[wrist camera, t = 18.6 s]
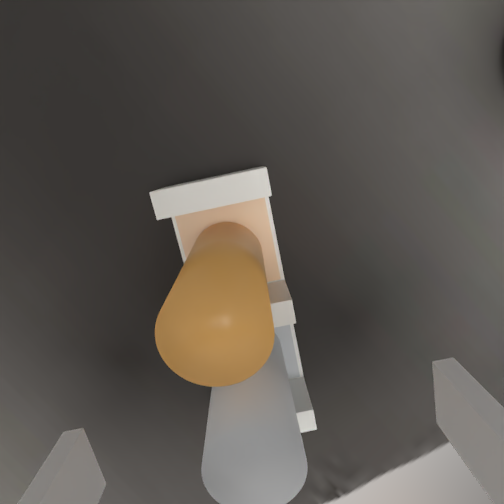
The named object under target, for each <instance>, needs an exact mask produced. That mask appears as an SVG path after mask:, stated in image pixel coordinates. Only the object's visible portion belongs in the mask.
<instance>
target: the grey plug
mask: <svg viewBox="0 0 504 504" xmlns="http://www.w3.org/2000/svg"><path fill="white" fill-rule="evenodd" d="M274 333H275V332H274ZM307 470H308V468H307V459H306V455H305V450H304V446H303V441H302V437H301V432H300V428H299V423H298V419H297V414H296V410H295V405H294V401H293V396H292V392H291V388H290V383H289V379H288V374H287V370H286V365H285V361H284V356H283V352H282V347H281V343H280V340H279V338H278V336H277V334H276V333H275V337H274V345H273V349H272V351H271V354H270V356H269V358H268V360H267V361H266V363H265V364H264V365H263V367H262V368H261V369H260V370H259V371H258V372H256V373H255V374H254V375H252V376H251V377H249V378H248V379H246V380H244V381H242V382H239V383H236V384H233V385H229V386H221V387H212V390H211V397H210V405H209V413H208V421H207V428H206V436H205V444H204V452H203V460H202V469H201V473H202V479H203V483H204V485H205V487H206V489H207V491H208V492H209V494H210V495H211V496H212V497H213V498H214V499H215V500H216V501H217V502H219V503H220V504H286V503H288V502H289V501H290V500H292V499H293V498H294V497H295V496H296V495H297V494H298V492H299V491H300V490H301V488H302V487H303V485H304V482H305V480H306V476H307Z"/></svg>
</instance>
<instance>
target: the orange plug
mask: <svg viewBox="0 0 504 504" xmlns="http://www.w3.org/2000/svg"><path fill="white" fill-rule="evenodd" d="M274 337H275V333H274V324H273V317H272V311H271V304H270V298H269V291H268V285H267V279H266V272H265V266H264V259H263V253H262V248H261V245H260V242H259V240H258V238H257V237H256V236H255V234H254V233H253V232H252V231H251V230H249V229H248V228H246V227H245V226H243V225H241V224H238V223H233V222H221V223H217V224H214V225H212V226H210V227H208V228H207V229H205V230H204V231H203V232H202V233H201V234H200V235H199V237H198V238H197V240H196V242H195V244H194V246H193V248H192V249H191V251H190V253H189V255H188V257H187V259H186V261H185V263H184V265H183V267H182V269H181V271H180V273H179V275H178V277H177V279H176V281H175V283H174V285H173V287H172V288H171V290H170V292H169V294H168V296H167V298H166V300H165V302H164V304H163V306H162V308H161V310H160V312H159V314H158V317H157V320H156V325H155V340H156V345H157V348H158V351H159V353H160V355H161V357H162V359H163V360H164V362H165V363H166V364H167V365H168V367H169V368H170V369H171V370H173V371H174V372H175V373H176V374H177V375H179V376H180V377H182V378H184V379H186V380H187V381H190V382H192V383H195V384H199V385H203V386H210V387H221V386H229V385H233V384H236V383H239V382H242V381H244V380H246V379H248V378H249V377H251V376H252V375H254V374H255V373H256V372H258V371H259V370H260V369H261V368H262V367H263V365H264V364H265V363H266V361H267V360H268V358H269V356H270V354H271V351H272V349H273V345H274Z"/></svg>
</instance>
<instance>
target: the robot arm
mask: <svg viewBox="0 0 504 504" xmlns="http://www.w3.org/2000/svg"><path fill="white" fill-rule="evenodd" d="M432 367H433V380H434V394H435V407H436V421H437V424H438V426H439V427H440V428H441V430H442V431H443V433H444V434H445V436H446V437H447V438H448V440H449V441H450V443H451V444H452V446H453V447H454V448H455V450H456V451H457V453H458V454H459V455H460V456H461V458H462V460H463V461H464V463H465V464H466V465H467V467H468V468H469V470H470V471H471V473H472V474H473V475H474V477H475V478H476V480H477V481H478V482H479V484H480V485H481V487H482V488H483V490H484V491H485V492H486V494H487V495H488V497H489V498H490V499H491V501H492V502H493V504H504V407H503V406H501V405H500V404H499V403H498V402H497V401H496V400H495V399H494V398H493V397H492V396H491V395H490V394H489V393H488V392H487V391H486V390H485V389H484V388H483V387H482V386H481V385H480V384H479V383H478V382H477V381H476V380H475V379H474V378H473V377H472V376H471V375H470V374H469V373H468V372H467V371H466V370H465V369H464V368H463V367H462V366H461V365H460V364H459V363H458V362H457V361H456V360H455V359H454V358H448V359H443V360H437V361H432ZM105 486H106V482H105V479H104V477H103V475H102V472H101V470H100V467H99V465H98V462H97V460H96V458H95V455H94V453H93V450H92V448H91V446H90V443H89V441H88V438H87V436H86V434H85V431H84V429H83V428H80V429H75V430H70V431H64V432H63V433H62V435H61V436H60V438H59V440H58V441H57V443H56V444H55V446H54V447H53V449H52V451H51V452H50V454H49V455H48V457H47V458H46V460H45V462H44V463H43V465H42V466H41V468H40V469H39V471H38V472H37V474H36V476H35V477H34V479H33V480H32V482H31V483H30V485H29V487H28V488H27V490H26V491H25V493H24V494H23V496H22V498H21V499H20V501H19V502H18V504H98V503H99V501H100V498H101V496H102V493H103V491H104V488H105Z"/></svg>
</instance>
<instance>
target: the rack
mask: <svg viewBox="0 0 504 504" xmlns="http://www.w3.org/2000/svg"><path fill="white" fill-rule="evenodd" d="M149 194H150V197H151V201H152V204H153V208H154V211H155V215H156V219H157V220H160V219H165V218H170V217H171V218H172V221H173V225H174V229H175V233H176V236H177V240H178V244H179V248H180V251H181V255H182V259H183V263H185V261H186V259H187V257H188V255H189V253H190V251H191V249H192V248H193V246H194V244H195V242H196V240H197V238H198V237H199V235H200V234H201V233H202V232H203V231H204V230H205V229H207V228H208V227H210V226H212V225H214V224H217V223H221V222H233V223H238V224H241V225H243V226H245V227H246V228H248V229H249V230H251V231H252V232H253V233H254V234H255V236H256V237H257V238H258V240H259V242H260V245H261V248H262V253H263V259H264V266H265V272H266V279H267V285H268V291H269V298H270V304H271V311H272V317H273V324H274V332H275V333H276V334H277V336H278V338H279V340H280V343H281V347H282V352H283V356H284V361H285V365H286V370H287V374H288V379H289V383H290V388H291V392H292V396H293V401H294V405H295V410H296V414H297V419H298V423H299V428H300V432H301V433H302V432H307V431H312V430H317V427H316V422H315V417H314V412H313V408H312V404H311V401H310V397H309V394H308V390H307V387H306V383H305V380H304V376H303V371H302V366H301V361H300V356H299V350H298V345H297V340H296V335H295V330H294V325H293V324H295V323H296V318H295V313H294V308H293V302H292V298H291V296H290V293H289V290H288V287H287V285H286V282H285V279H284V273H283V268H282V263H281V258H280V253H279V248H278V243H277V238H276V232H275V227H274V222H273V217H272V212H271V207H270V202H269V196H272V193H271V188H270V183H269V178H268V172H267V167H264V166H261V167H256V168H251V169H247V170H242V171H237V172H233V173H228V174H223V175H219V176H214V177H209V178H205V179H200V180H195V181H191V182H186V183H181V184H177V185H172V186H167V187H163V188H160V189H158V190H155V191H152V192H149Z"/></svg>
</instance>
